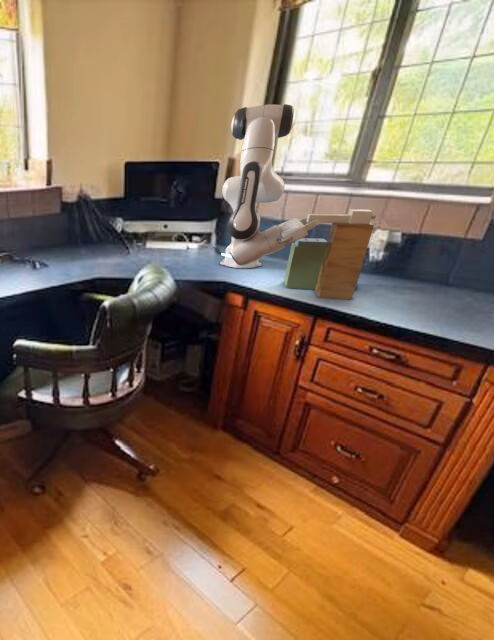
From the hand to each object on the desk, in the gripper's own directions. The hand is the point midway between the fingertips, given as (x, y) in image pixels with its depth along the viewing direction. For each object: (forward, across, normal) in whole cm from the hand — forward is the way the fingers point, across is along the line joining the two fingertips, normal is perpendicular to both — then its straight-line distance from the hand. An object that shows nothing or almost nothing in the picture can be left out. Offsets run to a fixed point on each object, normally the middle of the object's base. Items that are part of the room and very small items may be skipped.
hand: (316, 219), depth 149 cm
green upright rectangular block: (-12, +11, +24) cm, 29 cm away
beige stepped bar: (+7, 0, +5) cm, 8 cm away
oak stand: (-3, 0, +29) cm, 29 cm away
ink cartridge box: (+4, +15, +34) cm, 37 cm away
